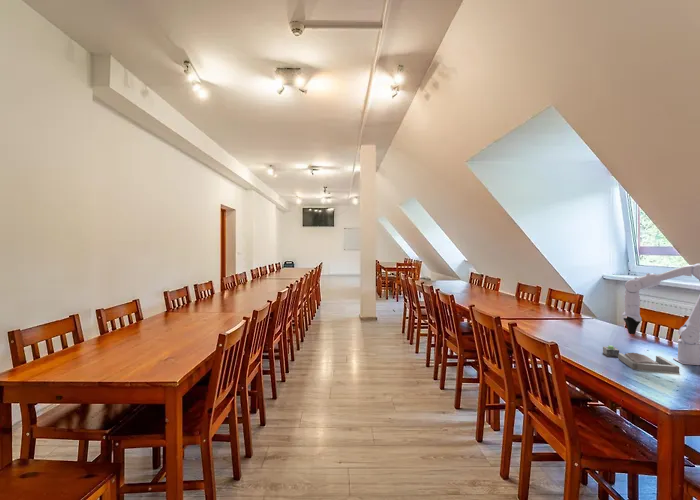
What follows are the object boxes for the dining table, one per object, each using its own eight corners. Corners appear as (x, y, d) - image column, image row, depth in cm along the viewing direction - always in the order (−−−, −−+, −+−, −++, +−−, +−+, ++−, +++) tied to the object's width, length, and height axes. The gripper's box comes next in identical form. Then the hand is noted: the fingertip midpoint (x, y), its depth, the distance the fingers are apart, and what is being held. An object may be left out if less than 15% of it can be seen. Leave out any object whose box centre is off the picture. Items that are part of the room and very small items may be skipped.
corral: (659, 361, 169) (660, 356, 169) (679, 373, 154) (679, 367, 154) (618, 358, 173) (618, 353, 173) (633, 369, 158) (633, 363, 158)
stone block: (646, 366, 169) (621, 359, 171) (649, 355, 169) (624, 349, 171) (660, 376, 158) (633, 369, 160) (664, 365, 157) (636, 358, 159)
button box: (614, 353, 181) (614, 347, 181) (619, 356, 176) (619, 350, 176) (602, 352, 182) (602, 346, 182) (606, 355, 178) (606, 349, 178)
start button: (612, 354, 180) (612, 345, 180) (614, 355, 178) (614, 346, 178) (607, 353, 181) (607, 345, 181) (609, 354, 179) (609, 346, 179)
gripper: (616, 302, 187) (615, 329, 187) (628, 307, 173) (628, 336, 174) (633, 303, 185) (632, 330, 186) (647, 307, 171) (646, 337, 172)
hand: (631, 333), depth 179 cm, fingers closed
